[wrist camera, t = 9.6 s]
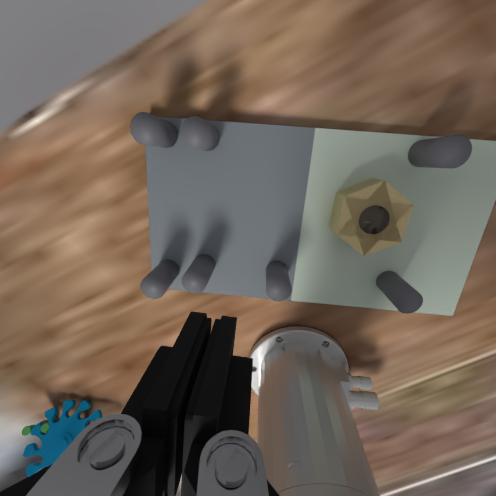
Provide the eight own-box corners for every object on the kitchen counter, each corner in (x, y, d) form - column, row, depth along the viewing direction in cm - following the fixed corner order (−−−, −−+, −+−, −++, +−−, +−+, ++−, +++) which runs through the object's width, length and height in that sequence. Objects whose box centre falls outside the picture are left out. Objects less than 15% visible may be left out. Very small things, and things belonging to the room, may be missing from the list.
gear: (116, 414, 36) (71, 506, 32) (131, 410, 42) (94, 488, 37) (46, 385, 37) (-6, 470, 33) (69, 384, 43) (27, 458, 38)
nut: (402, 181, 25) (420, 184, 22) (382, 249, 27) (396, 260, 24) (339, 174, 25) (349, 175, 22) (325, 242, 27) (332, 252, 25)
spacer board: (507, 143, 24) (572, 138, 19) (446, 311, 30) (484, 342, 25) (148, 117, 26) (119, 106, 20) (155, 283, 31) (134, 308, 26)
